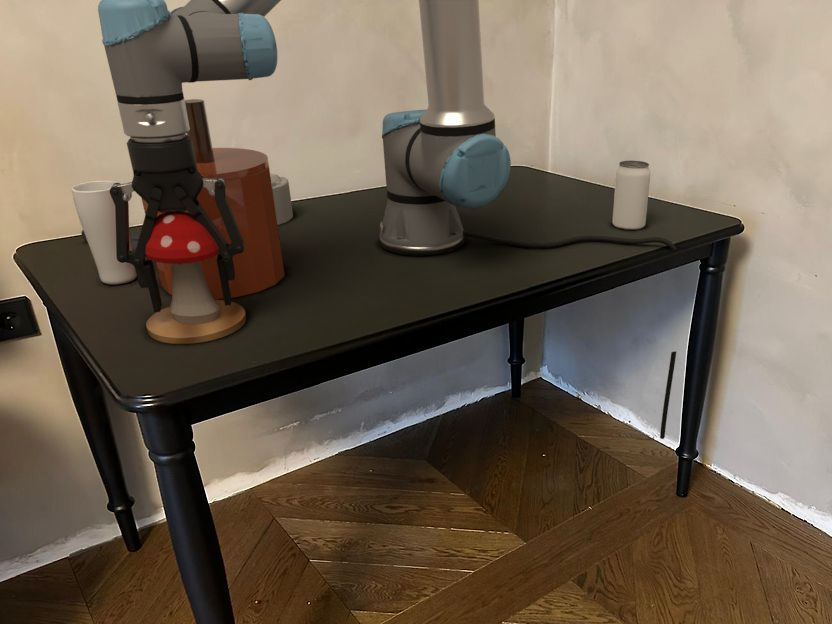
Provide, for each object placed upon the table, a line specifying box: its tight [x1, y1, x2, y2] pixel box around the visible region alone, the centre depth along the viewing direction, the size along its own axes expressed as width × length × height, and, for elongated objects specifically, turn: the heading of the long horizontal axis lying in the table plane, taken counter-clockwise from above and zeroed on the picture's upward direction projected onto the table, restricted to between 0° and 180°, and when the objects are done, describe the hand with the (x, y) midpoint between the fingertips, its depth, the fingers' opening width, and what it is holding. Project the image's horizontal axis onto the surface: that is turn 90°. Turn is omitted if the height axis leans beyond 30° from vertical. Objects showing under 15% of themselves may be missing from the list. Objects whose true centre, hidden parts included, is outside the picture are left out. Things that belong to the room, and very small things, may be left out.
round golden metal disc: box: [145, 299, 247, 345], centre depth 106 cm, size 13×13×1 cm
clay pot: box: [141, 98, 286, 300], centre depth 116 cm, size 19×19×27 cm
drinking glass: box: [70, 180, 137, 286], centre depth 117 cm, size 7×7×15 cm
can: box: [611, 159, 651, 231], centre depth 146 cm, size 6×6×12 cm
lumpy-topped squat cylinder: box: [270, 172, 294, 226], centre depth 148 cm, size 10×13×9 cm
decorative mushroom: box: [145, 211, 219, 324], centre depth 102 cm, size 10×9×15 cm
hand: (193, 304), depth 105 cm, fingers open, 8 cm apart
